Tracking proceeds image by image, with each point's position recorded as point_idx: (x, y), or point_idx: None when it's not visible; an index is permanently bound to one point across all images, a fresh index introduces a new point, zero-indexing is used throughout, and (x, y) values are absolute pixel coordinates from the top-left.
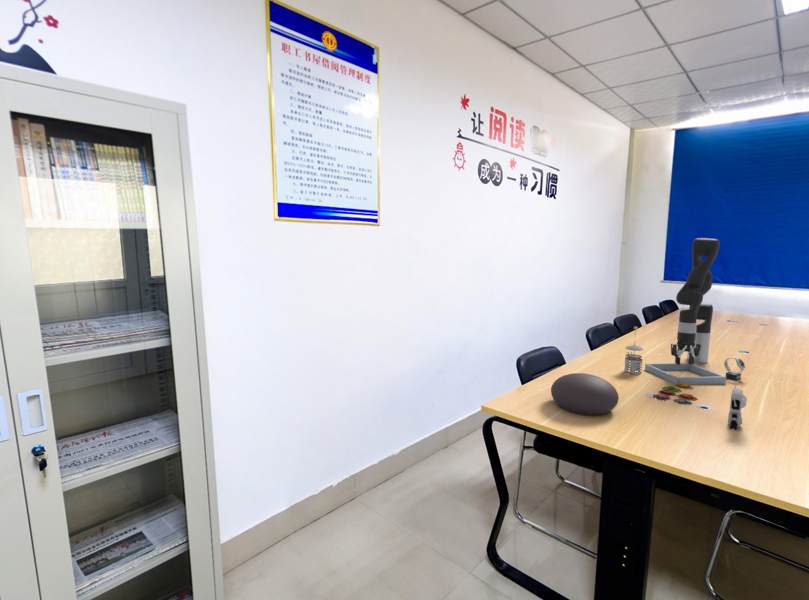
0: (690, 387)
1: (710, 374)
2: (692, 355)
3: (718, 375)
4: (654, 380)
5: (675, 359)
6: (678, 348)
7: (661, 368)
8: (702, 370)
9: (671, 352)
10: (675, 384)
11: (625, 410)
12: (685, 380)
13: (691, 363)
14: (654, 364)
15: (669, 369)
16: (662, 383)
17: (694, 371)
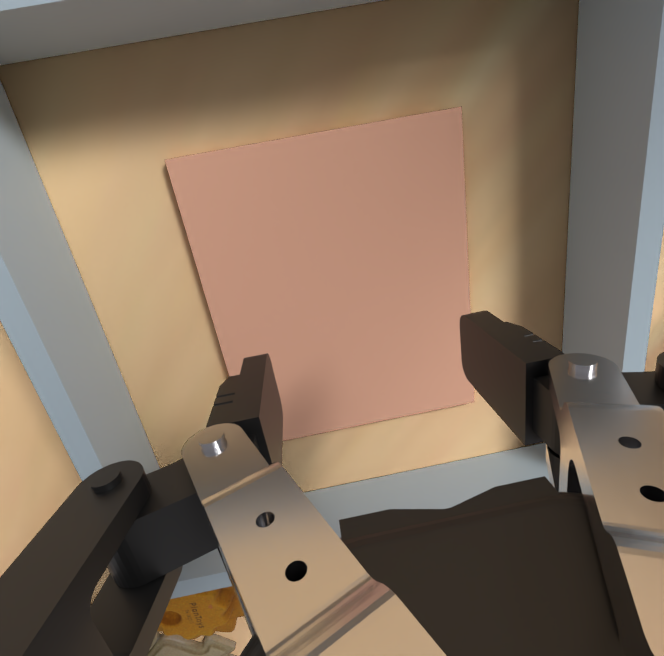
0: (234, 613)
1: (599, 345)
2: (555, 478)
3: None
4: (16, 418)
5: (213, 420)
6: (254, 604)
7: (184, 17)
8: (618, 228)
9: (43, 546)
10: None
11: None
12: None
13: (471, 379)
14: (23, 8)
15: (313, 1)
16: (73, 487)
17: (589, 90)
